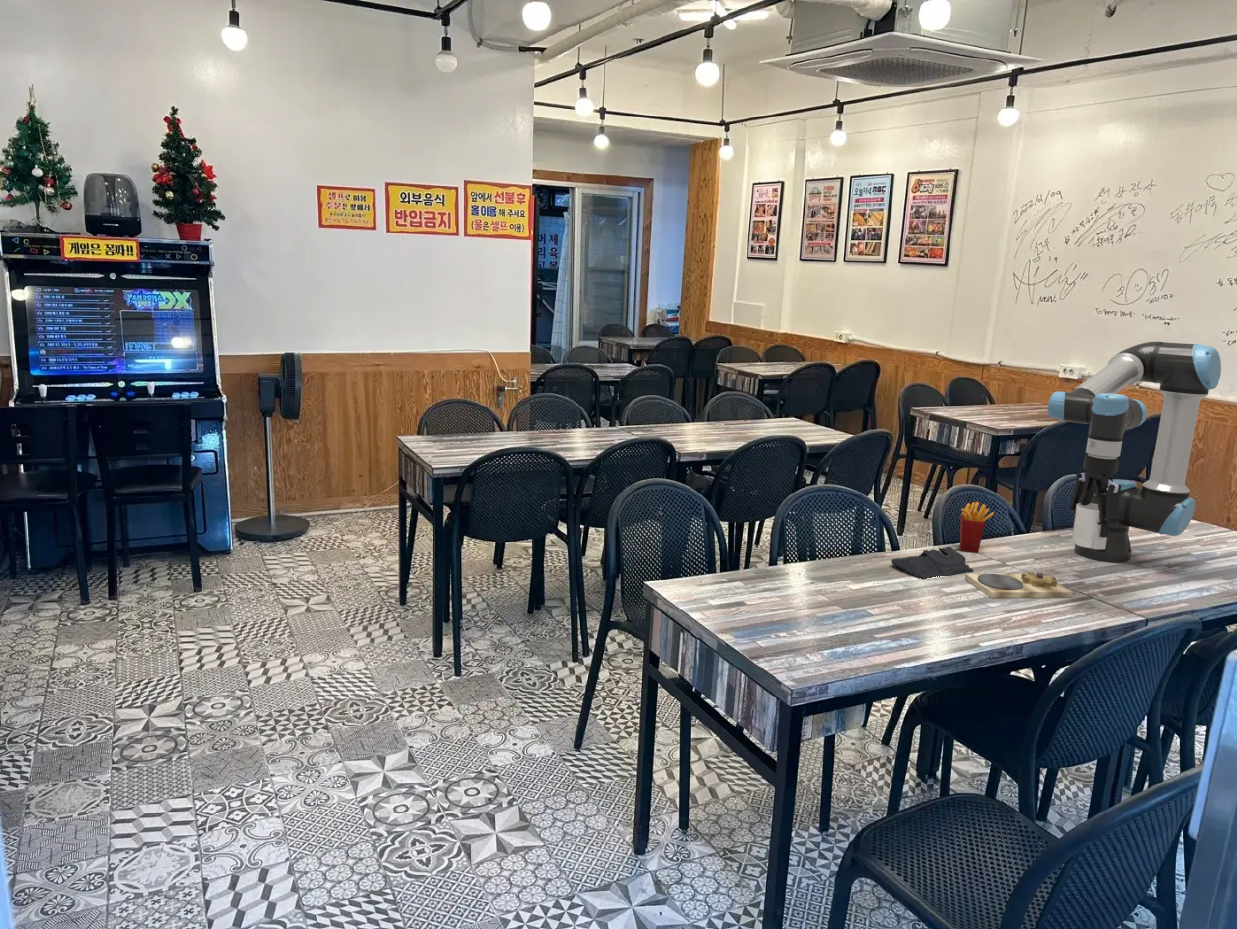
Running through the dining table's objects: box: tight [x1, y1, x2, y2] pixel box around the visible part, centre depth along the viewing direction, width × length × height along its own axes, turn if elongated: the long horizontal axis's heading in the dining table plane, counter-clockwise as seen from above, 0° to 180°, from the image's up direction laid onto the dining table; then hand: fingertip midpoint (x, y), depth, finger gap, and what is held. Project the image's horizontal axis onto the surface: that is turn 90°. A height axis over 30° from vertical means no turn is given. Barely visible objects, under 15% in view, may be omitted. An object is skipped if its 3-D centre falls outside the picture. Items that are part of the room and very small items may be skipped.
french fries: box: [959, 501, 995, 554], centre depth 263 cm, size 9×8×15 cm
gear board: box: [964, 571, 1073, 599], centre depth 232 cm, size 22×14×4 cm, turn 96°
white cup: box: [1072, 503, 1100, 548], centre depth 221 cm, size 8×8×10 cm
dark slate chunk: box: [890, 546, 974, 580], centre depth 246 cm, size 15×22×5 cm
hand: (1088, 543), depth 222 cm, fingers closed on white cup, 8 cm apart
